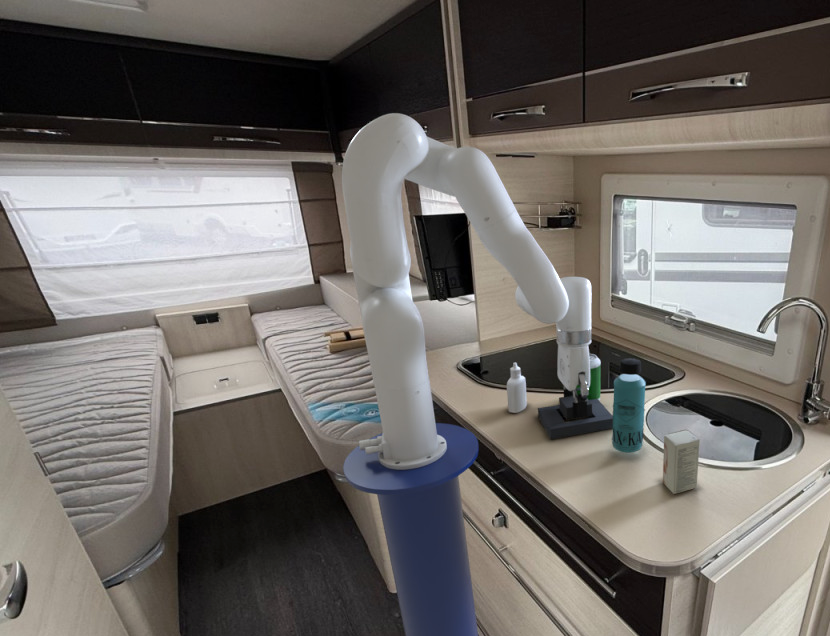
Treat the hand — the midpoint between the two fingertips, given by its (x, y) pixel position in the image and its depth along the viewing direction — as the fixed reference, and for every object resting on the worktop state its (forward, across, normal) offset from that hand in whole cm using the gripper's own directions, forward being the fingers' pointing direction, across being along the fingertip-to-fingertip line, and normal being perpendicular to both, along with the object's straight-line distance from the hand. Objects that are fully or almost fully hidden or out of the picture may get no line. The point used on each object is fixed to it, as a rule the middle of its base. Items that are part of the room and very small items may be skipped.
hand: (575, 410), depth 107 cm
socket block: (+3, 0, 0) cm, 3 cm away
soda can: (+3, -10, +6) cm, 12 cm away
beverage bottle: (+3, +16, +6) cm, 17 cm away
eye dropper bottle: (+3, -12, -11) cm, 17 cm away
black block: (+1, 0, 0) cm, 1 cm away
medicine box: (+3, +30, +10) cm, 32 cm away
